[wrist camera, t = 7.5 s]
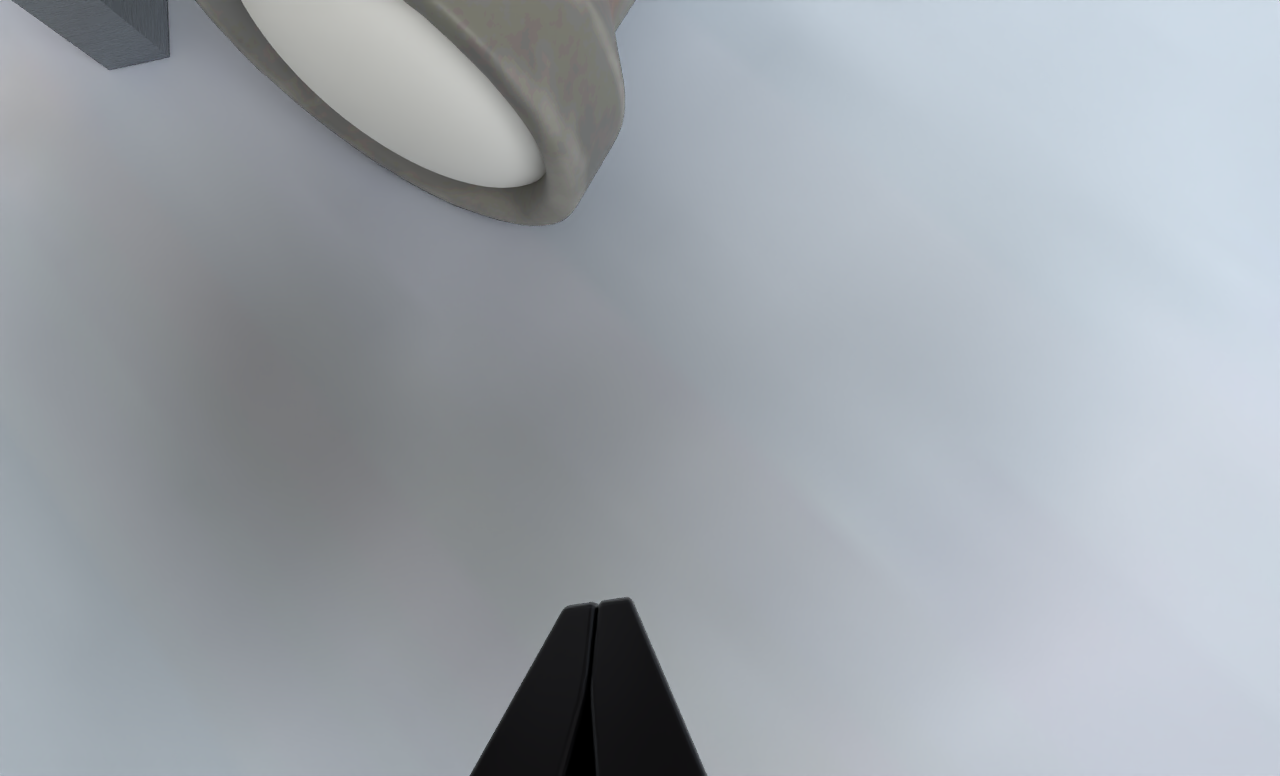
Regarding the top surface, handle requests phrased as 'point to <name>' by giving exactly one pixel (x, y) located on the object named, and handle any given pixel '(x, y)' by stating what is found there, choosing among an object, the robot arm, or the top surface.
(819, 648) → the top surface
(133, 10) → the duct bracket
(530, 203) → the pipe fitting
